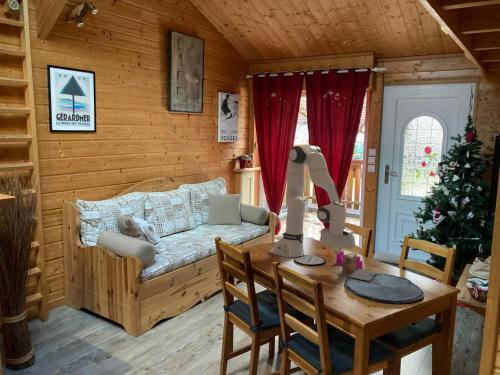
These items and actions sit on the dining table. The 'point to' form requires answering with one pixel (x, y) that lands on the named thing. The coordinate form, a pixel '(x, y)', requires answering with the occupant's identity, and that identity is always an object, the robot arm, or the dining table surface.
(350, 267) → the walnut block
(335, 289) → the dining table surface
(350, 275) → the mat
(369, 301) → the dining table surface
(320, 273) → the dining table surface
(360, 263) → the toy block
